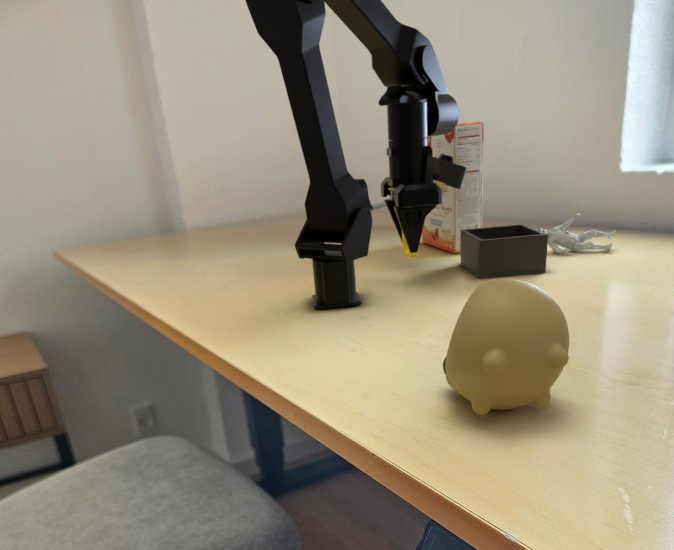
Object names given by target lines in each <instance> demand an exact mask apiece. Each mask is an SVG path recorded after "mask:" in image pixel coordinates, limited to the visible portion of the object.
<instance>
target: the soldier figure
mask: <svg viewBox="0 0 674 550" xmlns="http://www.w3.org/2000/svg"><path fill="white" fill-rule="evenodd" d="M580 215H581V213H580V212H577V213H575V214H574V215H572V216H571V217H570V218H569V219H567V220H566V221H564V222H563V223H562V224H560V225H557V226H554V227H552V228H551V229H550V231H547V229H543V228H541V227H539V228H538V229H537V230H538V231H541V232H543V233H546V234H548V243H547V246H548V247H549V248H550V249H552V251H553V252H554V253H556V254H559V255H560V254H561V255H562V254H565V255H568V254H570V252H571V251H572V252H573V251H575V252H576V251H577V252H579V251H584V250H591V251H594V250H605V251H610V250H612V248H613V243H609V244H597V243H595V242H593V241H591V239H593V238H607V239H609V240H613V239H614V238H615V235H616V230H613V231H612V232H609V233H608V232H603V231H600V230H598V229H591V230H587V231H585V232H583V233H580V235H577V234H576V233H571V231H570V230H566V229H567V228H569V226H571V224H572V222H574V221H575V220H574V219H577V216H580ZM560 247H562V248H560Z"/></svg>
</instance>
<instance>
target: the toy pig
mask: <svg viewBox="0 0 674 550" xmlns="http://www.w3.org/2000/svg"><path fill="white" fill-rule="evenodd" d="M468 297H469V298H467V300H466V301H465V303H464V306H463V307H462V309H461V311H460V313H459V316H458V318H457V320H456V323H455V325H454V328H453V331H452V334H451V336H450V337H451V338H450V340H449V343H448V348H447V351H446V355H445V358H444V359H443V362H442V369H443V373H444V375H445V380H446V383H447V384H448V385H449V387H450V388H451V389H452V390H454V391H455V392H457V393H458V394H460V396H462V397H463V398H464V399H466V401H469V402H470V403H471V408H472V411H473V412H474V413H475V414H476V415H479V416H485V415H487V414H488V413H489V412H490V411H491V410H496V411H497V410H498V411H505V410H513V409H518V408H521V407H523V406H526V405H528V404H531V405H533V406H534V407H535V408H537V409H545V408H547V407H548V406H549V405H550V404H551V401H552V400H551V388H552V386H554V384H555V383H556V382H557V380H558V378H559V377H560V375H561V374H562V372H563V370H564V367H565V366H566V365H567V364H568V362H569V360H570V357H569V351H570V350H569V349H570V332H569V331H570V330H569V325H568V322H567V319H566V316H565V313H564V312H563V309H562V308H561V307H560V305H559V304H558V303H557V302H556V300H555V299H554V298H553V297H552V296H551V295H550V294H549V293H547V292H546V291H545V290H543V289H541V288H540V287H538V286H536V285H535V284H532V283H530V282H528V281H525V280H521V279H517V278H512V277H511V278H510V277H509V278H508V277H501V278H493V279H489V280H486V281H484V282H483V283H481V284H480V285H478V286H477V287H476V288H475V289H474V291H473V292H472V293H471V294H470V296H468Z"/></svg>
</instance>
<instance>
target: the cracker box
mask: <svg viewBox="0 0 674 550" xmlns="http://www.w3.org/2000/svg"><path fill="white" fill-rule="evenodd" d="M484 125H485V124H484V121H468V122H467V121H458V123H457V125H456V127H455V128H454V129H453V130H452V131H451V132H450V133H448V134H445V135H437V136H429V137H426V138H427V143H428V146H430V147H431V148H432V150H433V157H435V158H438V157H439V156H440V155H441V154H445V155H448V156H452V157H453V163H454V164H457V165H461V166H464V167H467V171H466V174H465V177H464V180H463V183H462V186H461V189H457V188H453V187H451V186H448V185H446V184H445V183H442V182H439V181H436V180H433V181H434V183H436V184H437V185H438V186H439V187H440V188H441V189H442V204H437V206H436V208H435V209H433V210H432V211H431V212H430V213H429V214H428V215H427V216H426V218H425V222H424V226H423V230H422V235H421V241H422V243H423V244H427V245H429V246H432V247H435V248H438V249H441V250H444V251H447V252H450V253H452V254H461V230H464V229H475V228H483V191H484V187H483V186H484V185H483V184H484V136H485V134H484V133H485V129H484V128H485V126H484Z"/></svg>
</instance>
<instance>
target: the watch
mask: <svg viewBox="0 0 674 550" xmlns="http://www.w3.org/2000/svg"><path fill="white" fill-rule="evenodd" d="M401 243H402V249H403V255H404V254H405V255H406V257H407V258H408V259H409V258H416V257H417V256H418V255H419V251H418V252H416V253H411V252H410V250H409V248H408V245H407V242H406V240H405V237H404V234H403V232H402V241H401ZM419 248H420V247H419ZM419 248H418V250H420V249H419Z"/></svg>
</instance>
